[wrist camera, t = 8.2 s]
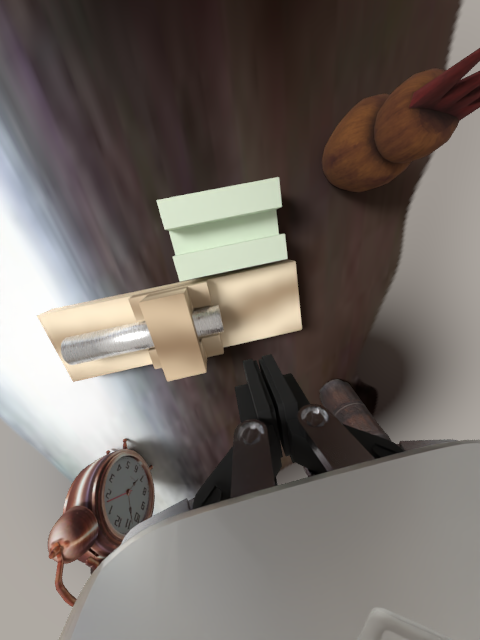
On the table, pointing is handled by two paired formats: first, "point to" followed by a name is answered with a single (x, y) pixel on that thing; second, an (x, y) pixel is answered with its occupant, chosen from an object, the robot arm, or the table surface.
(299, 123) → the table surface
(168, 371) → the maple beam
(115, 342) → the steel axle
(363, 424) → the butter churn
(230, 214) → the block
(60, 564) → the alarm clock
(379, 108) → the wooden figurine
